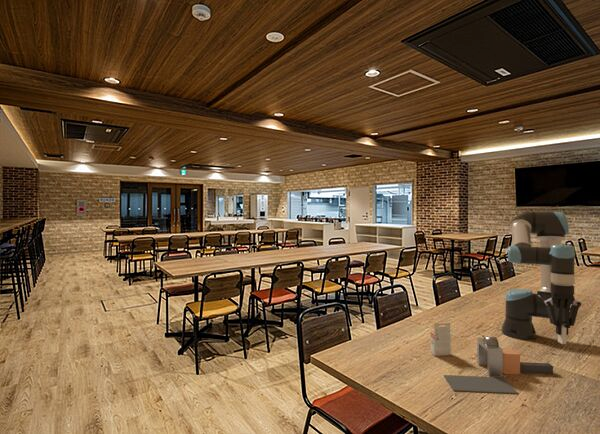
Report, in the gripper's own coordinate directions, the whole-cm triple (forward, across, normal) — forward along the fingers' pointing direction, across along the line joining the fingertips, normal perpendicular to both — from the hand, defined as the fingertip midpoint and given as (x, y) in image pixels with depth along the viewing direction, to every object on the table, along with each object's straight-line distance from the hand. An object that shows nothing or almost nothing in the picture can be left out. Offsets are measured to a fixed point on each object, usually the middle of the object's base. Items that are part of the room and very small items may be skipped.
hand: (562, 342), depth 132 cm
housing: (+13, +27, 0) cm, 30 cm away
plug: (+12, +13, 0) cm, 18 cm away
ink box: (+13, +42, -14) cm, 46 cm away
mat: (+13, +36, +12) cm, 40 cm away
